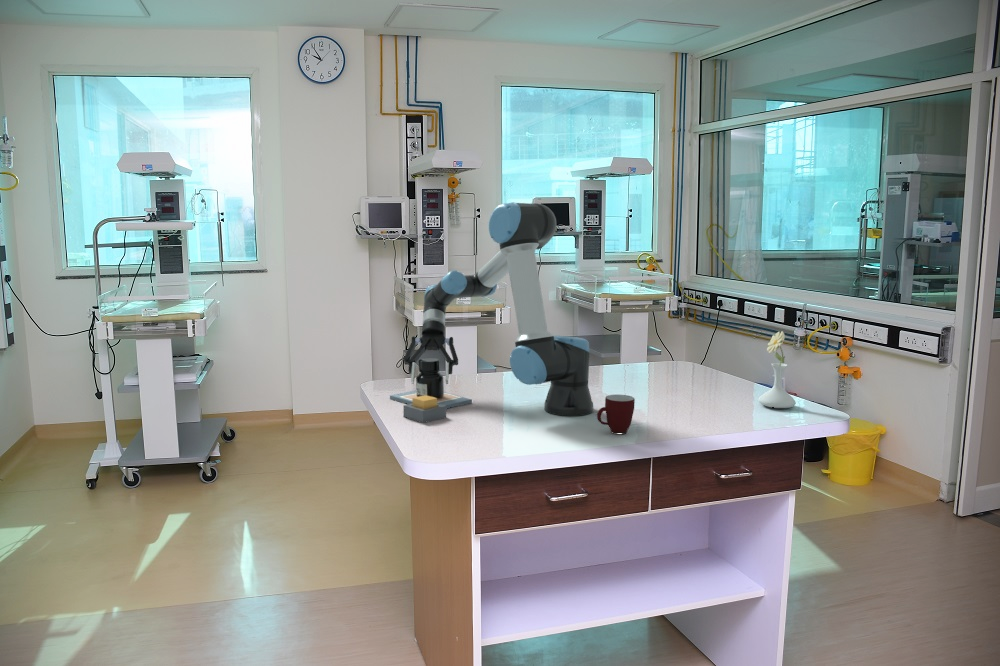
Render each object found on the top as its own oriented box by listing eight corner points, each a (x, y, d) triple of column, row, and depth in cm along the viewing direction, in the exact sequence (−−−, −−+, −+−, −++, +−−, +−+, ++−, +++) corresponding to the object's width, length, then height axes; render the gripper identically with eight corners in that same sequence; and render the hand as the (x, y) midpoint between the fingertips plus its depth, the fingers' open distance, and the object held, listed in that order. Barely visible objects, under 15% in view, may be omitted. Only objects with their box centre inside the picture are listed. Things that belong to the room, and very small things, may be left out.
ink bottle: (414, 394, 252) (413, 358, 250) (441, 392, 254) (440, 356, 252) (418, 400, 242) (417, 363, 241) (446, 398, 244) (445, 361, 243)
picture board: (471, 403, 246) (471, 399, 246) (433, 411, 235) (433, 407, 235) (427, 391, 262) (427, 387, 261) (389, 398, 250) (389, 395, 250)
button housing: (446, 417, 229) (446, 405, 228) (422, 422, 222) (422, 411, 222) (426, 411, 235) (426, 400, 235) (403, 416, 229) (403, 405, 228)
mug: (605, 438, 209) (606, 403, 207) (591, 431, 216) (592, 396, 215) (638, 435, 213) (640, 399, 211) (623, 427, 220) (624, 393, 219)
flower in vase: (758, 401, 254) (763, 326, 250) (795, 404, 250) (800, 328, 246) (757, 410, 241) (762, 331, 238) (796, 413, 238) (801, 334, 234)
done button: (437, 411, 228) (437, 398, 228) (423, 414, 225) (423, 401, 224) (426, 408, 232) (425, 395, 231) (412, 411, 228) (412, 397, 228)
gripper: (467, 332, 260) (465, 388, 247) (400, 332, 260) (395, 387, 247) (467, 319, 254) (465, 375, 241) (398, 318, 254) (392, 375, 241)
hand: (429, 381), depth 244 cm, fingers open, 10 cm apart
